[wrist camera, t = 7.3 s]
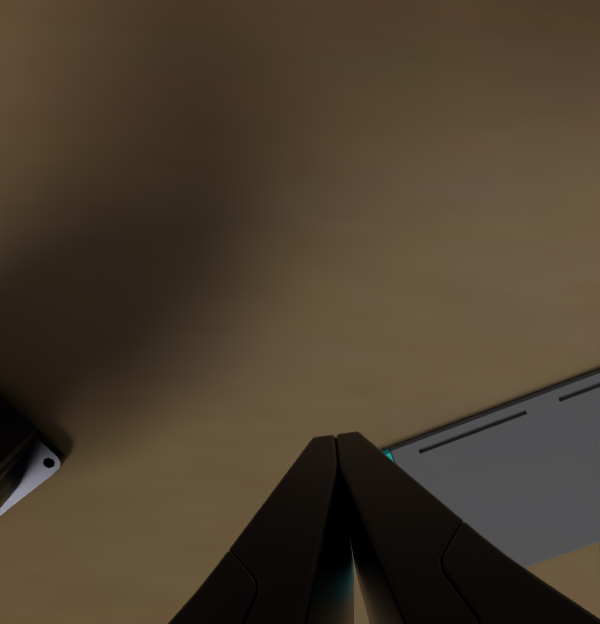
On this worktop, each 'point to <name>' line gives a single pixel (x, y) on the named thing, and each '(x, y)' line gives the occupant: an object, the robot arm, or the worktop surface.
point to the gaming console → (520, 470)
